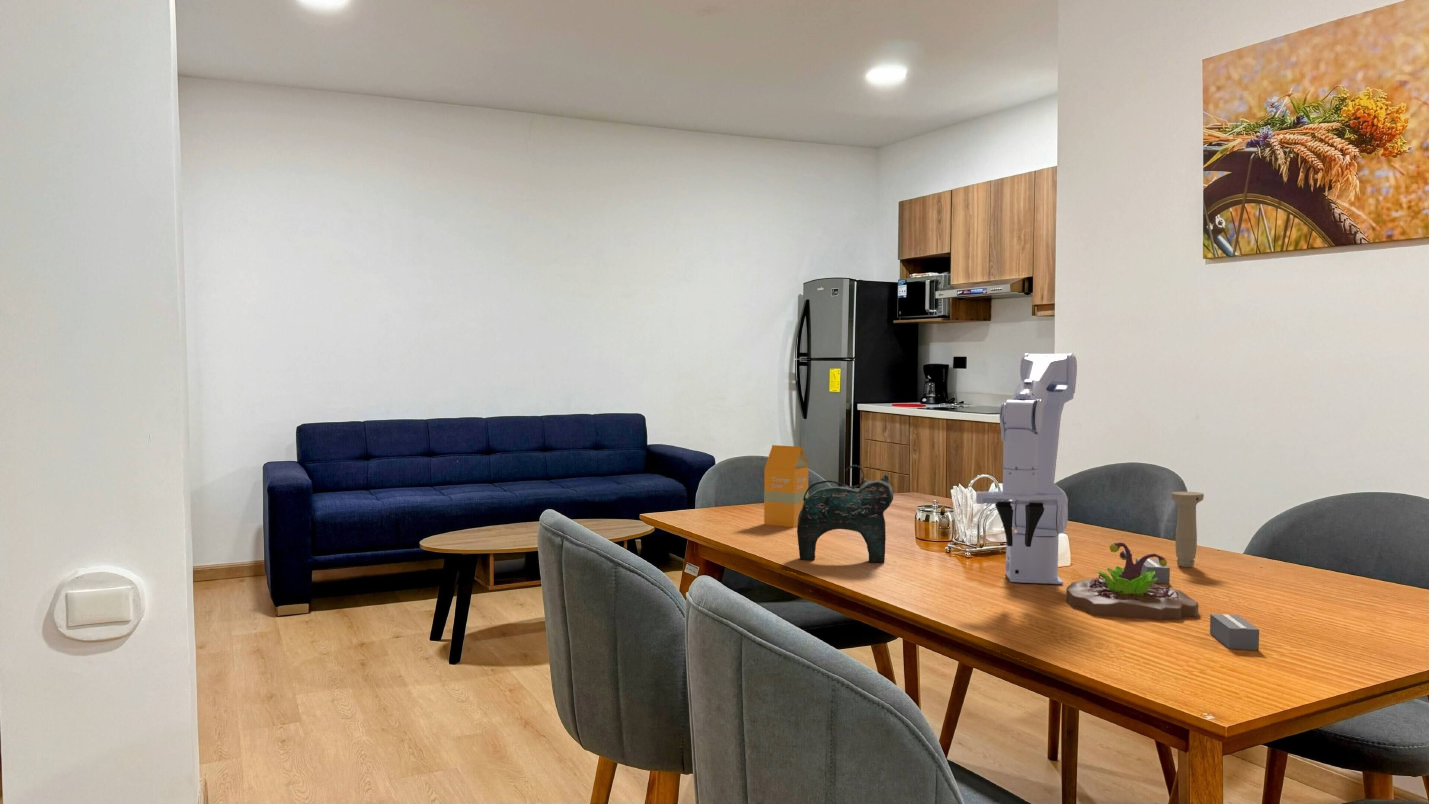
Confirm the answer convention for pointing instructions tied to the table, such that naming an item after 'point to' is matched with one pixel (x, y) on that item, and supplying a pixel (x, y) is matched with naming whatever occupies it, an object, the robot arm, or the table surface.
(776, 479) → the orange juice
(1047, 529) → the robot arm
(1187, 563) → the handle
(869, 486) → the ceramic cat
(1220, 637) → the grey blocks
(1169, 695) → the table surface
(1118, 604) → the plant
